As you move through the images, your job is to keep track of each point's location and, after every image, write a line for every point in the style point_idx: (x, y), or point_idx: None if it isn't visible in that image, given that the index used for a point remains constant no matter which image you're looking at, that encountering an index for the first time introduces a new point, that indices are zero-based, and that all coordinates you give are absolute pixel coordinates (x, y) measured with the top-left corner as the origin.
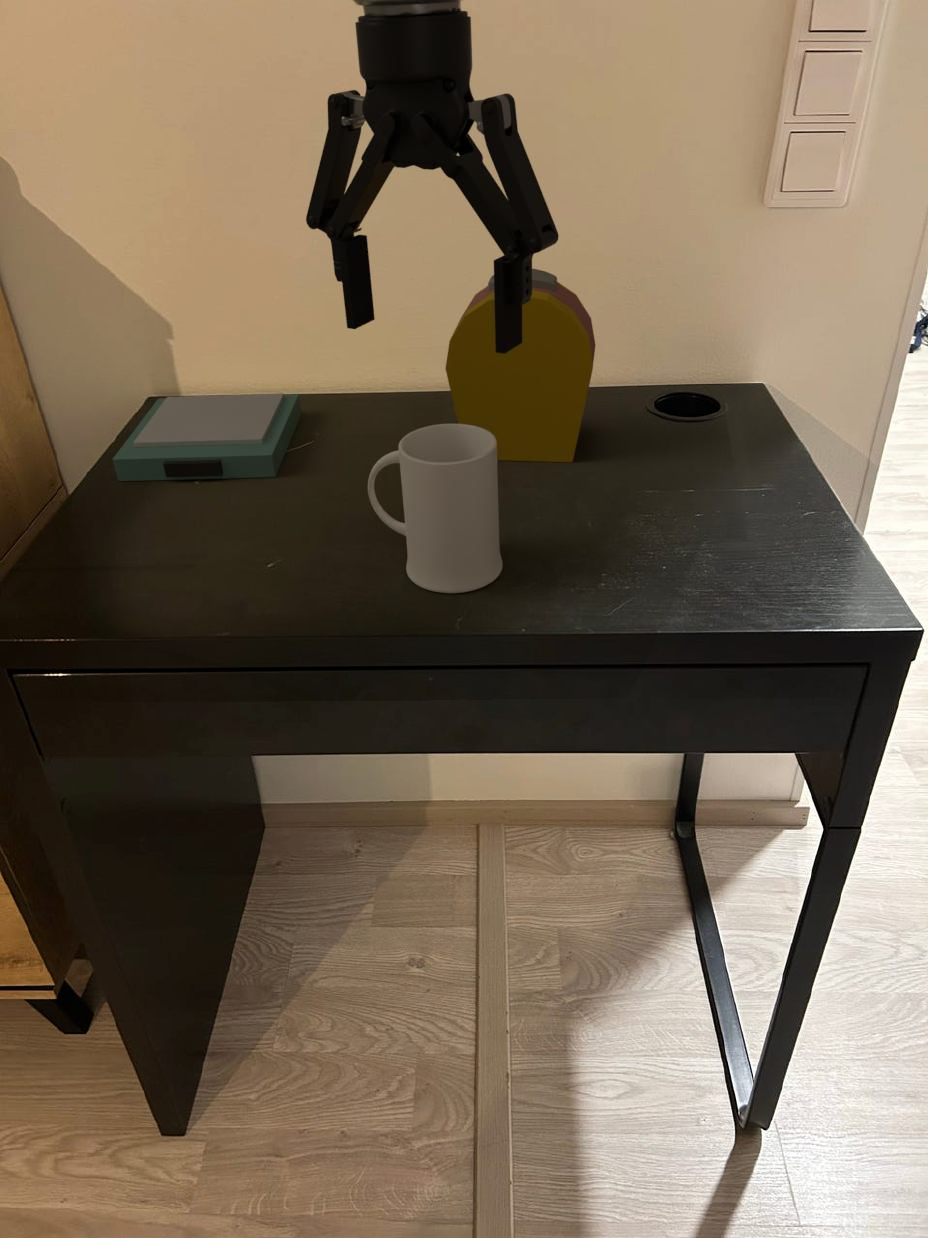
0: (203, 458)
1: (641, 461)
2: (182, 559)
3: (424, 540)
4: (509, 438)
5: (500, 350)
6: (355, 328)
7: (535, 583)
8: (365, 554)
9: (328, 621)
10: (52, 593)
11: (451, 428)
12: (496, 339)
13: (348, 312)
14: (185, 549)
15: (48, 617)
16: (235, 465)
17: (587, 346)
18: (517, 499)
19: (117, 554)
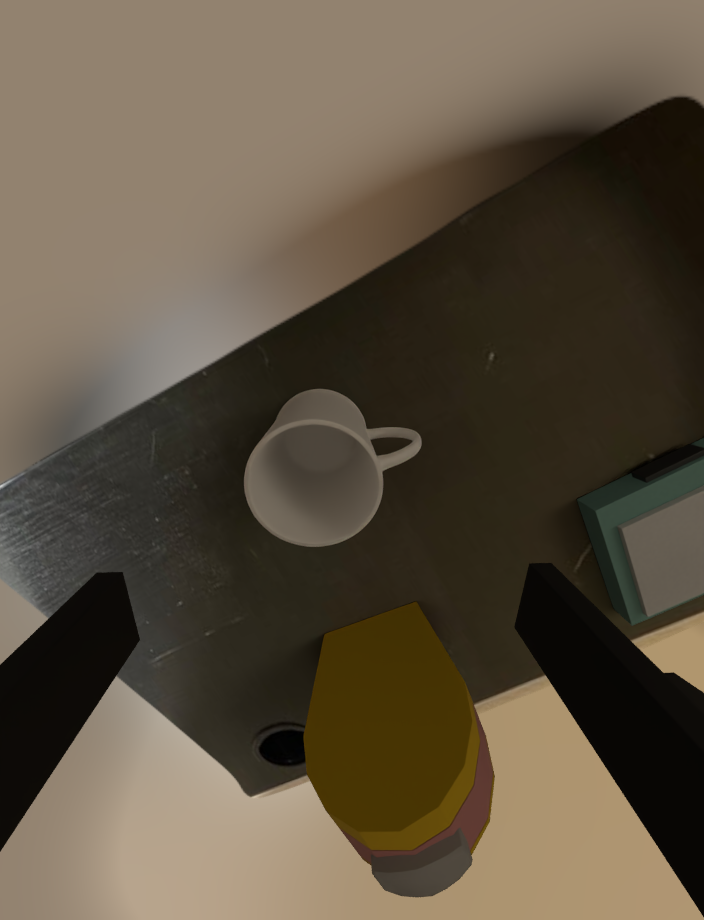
0: (666, 475)
1: (271, 658)
2: (586, 321)
3: (320, 399)
4: (380, 633)
5: (102, 575)
6: (529, 567)
7: (240, 446)
8: (413, 417)
9: (378, 294)
10: (692, 189)
11: (342, 533)
12: (99, 595)
13: (568, 590)
14: (593, 339)
15: (670, 144)
16: (625, 486)
17: (307, 767)
18: (334, 561)
19: (661, 295)
